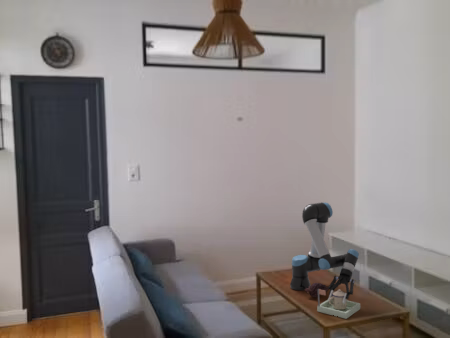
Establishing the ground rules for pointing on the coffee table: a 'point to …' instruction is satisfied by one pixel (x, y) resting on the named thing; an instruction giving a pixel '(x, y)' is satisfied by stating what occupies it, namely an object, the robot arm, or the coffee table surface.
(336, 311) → the mint green square tray
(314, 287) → the pine cone
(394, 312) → the coffee table surface
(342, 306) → the teacup with lid
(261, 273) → the coffee table surface
